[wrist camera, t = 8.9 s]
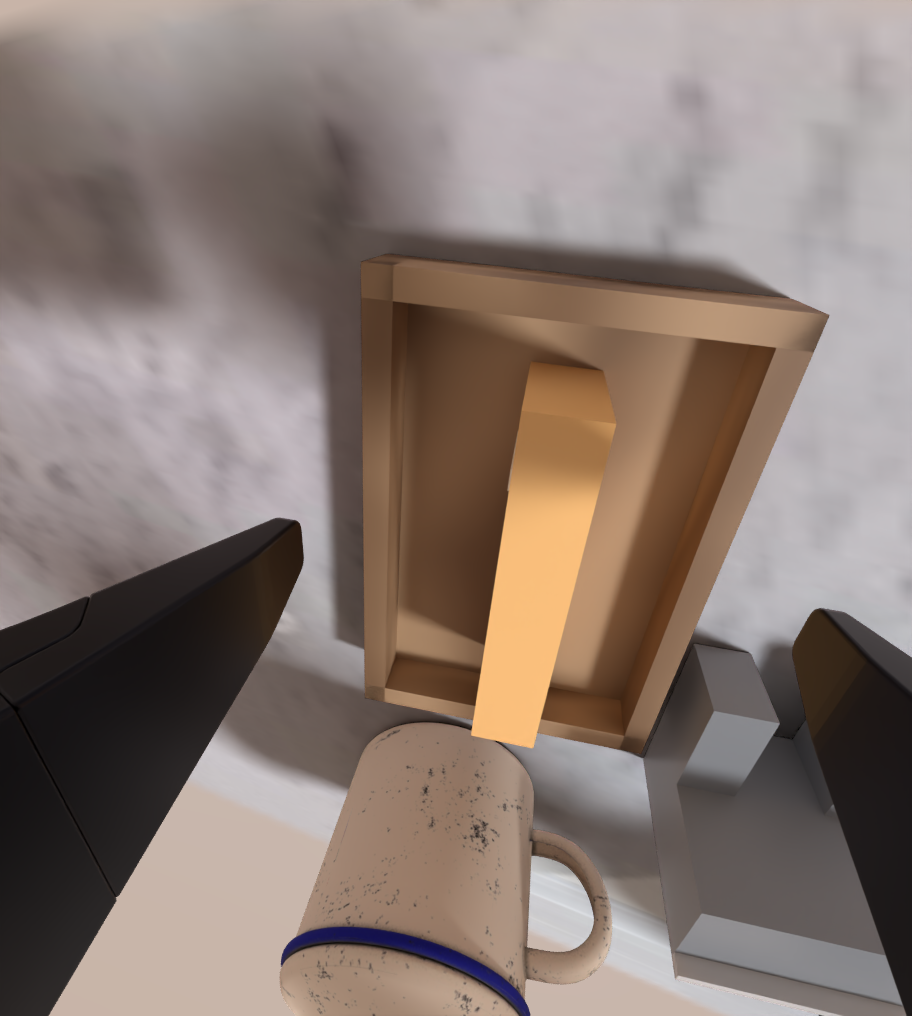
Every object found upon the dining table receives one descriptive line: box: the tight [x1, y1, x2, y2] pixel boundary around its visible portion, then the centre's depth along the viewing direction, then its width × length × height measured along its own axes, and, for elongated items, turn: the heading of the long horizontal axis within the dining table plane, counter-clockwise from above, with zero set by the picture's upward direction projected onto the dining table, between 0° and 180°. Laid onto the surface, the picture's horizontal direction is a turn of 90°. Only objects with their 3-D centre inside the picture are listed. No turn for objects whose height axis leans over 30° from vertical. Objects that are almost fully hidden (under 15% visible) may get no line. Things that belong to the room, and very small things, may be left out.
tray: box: [361, 254, 829, 754], centre depth 17 cm, size 11×16×2 cm
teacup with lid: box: [280, 722, 612, 1016], centre depth 21 cm, size 12×9×12 cm
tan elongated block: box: [471, 362, 616, 748], centre depth 16 cm, size 2×11×4 cm, turn 175°
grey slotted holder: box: [643, 644, 906, 1016], centre depth 18 cm, size 7×7×8 cm
